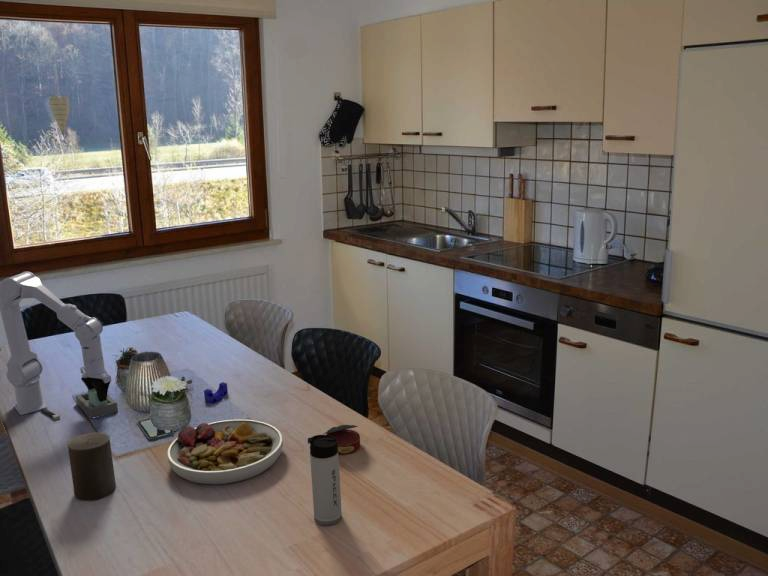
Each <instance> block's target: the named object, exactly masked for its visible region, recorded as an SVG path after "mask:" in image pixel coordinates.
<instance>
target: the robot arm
mask: <svg viewBox="0 0 768 576" xmlns="http://www.w3.org/2000/svg"><path fill="white" fill-rule="evenodd" d="M23 299H35V300H36V301H38V302H40V303H41V304H42V305H44V306H46V307H47V308H48V309H50V310H52V311H53V312H54V313H56V317H57V320H59V321H60V322H61V323H63V324H64V325H66V326H67V327H68V328H70V329H71V331H74V336H75V338H76V339H77V340H78V341H79V346H80V347H81V354H82V360H83V362H82V363H83V366H80V368H79V369H80V374H81V378H80V380H81V381H82V383H84V385H85V386H86V388H87V391H88V390H91V389H94V388H95V390H96V392H97V396H98V399H99V401H100V402H102V401H105V400H107V395H108V393H109V392H108V390H109V387H110V385H111V382H112V376H111V374H109V373H108V371H107V370H106V369H105V367H106V366H105V362H104V354H103V349H102V342H101V341H102V340H101V334H102V332H103V330H104V329H103V328H104V327H103V324H102V322H101V321H100V320H99V319H98V318H96V317H92V316H91V317H90V316H89V315H87V314H85V313H83V312H82V311H81V310H80V309H79V308H78V307H77V305H75V304H71V303H65V302H63V301H62V300H61V299H59V298H58V297H57V296H56V295H55V294H53V292H52V291H50V290H49V289H48V288H47V287H46V286H45V285H44V284H43V283H42V281H41V279H40V277H38V276H36V275H35V274H34V273H33V272H31V271H23V272H21V273H19V274H15V275H13V276H10V277H6V278H4V279H3V280H2V281H1V282H0V316H1V320H2V323H3V324H2V325H3V327H4V332H5V335H6V339H7V342H8V343H7V344H8V346H9V347H8V348H9V351H10V357H9V360H8V361H7V363H6V367H7V368H6V369H7V372H6V379H7V380H8V382H9V383H10V384H11V386H12V387H13V390H14V396H15V402H16V404H14V405H13V407H14V409H15V410H16V411H17V413H18V414H19V415H20V416H23V415H27V414H30V413H35V412H37V411H41V409H42V408H45V409H48V405H46V403H45V402H44V401H43V393H42V388H41V383H40V378H41V376H40V375H41V374H42V372H43V370H44V369H43V364H42V362H41V361H40V359H39V358H38V355H37V353H36V352H34V351H32V350H31V348H30V343H29V339H28V335H27V330H26V327H25V323H24V318H23V315H22V314H23V313H22V311H21V306H20V303H21V302H22V300H23Z"/></svg>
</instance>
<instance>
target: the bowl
mask: <svg viewBox="0 0 768 576" xmlns="http://www.w3.org/2000/svg"><path fill="white" fill-rule="evenodd" d="M283 439H284V438H283V434H282V432H281V431H280V430H279V429H278V428H277V427H275V426H274V425H271V424H270V423H267V422H264V421H259V420H253V419H226V420H219V421H215V422H209V423H208V422H207V423H205V422H202V423H200V424H198V425H197V427H192V426H186V427H183V429H181V431H179V432H178V434H177V437H176V438H175V439H174V440H173V441H172V442H171V443H170V444H169V447H168V448H167V452H166V455H167V461H168V464H169V466H170V468H171V469H172V471H174V473H175V474H177V476H179V477H181V478H182V479H184V480H187V481H189V482H193V483H196V484H204V485H224V484H231V483H236V482H241V481H243V480H244V481H245V480H247V479H250V478H253V477H255V476H258V475H259V474H261V473H263V472H265V471H266V470H268V469H269V468H270V467H271V466H272V465H274V463H276V461H277V460H278V458H280V455H281V453H282V450H283V446H284V440H283Z"/></svg>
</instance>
